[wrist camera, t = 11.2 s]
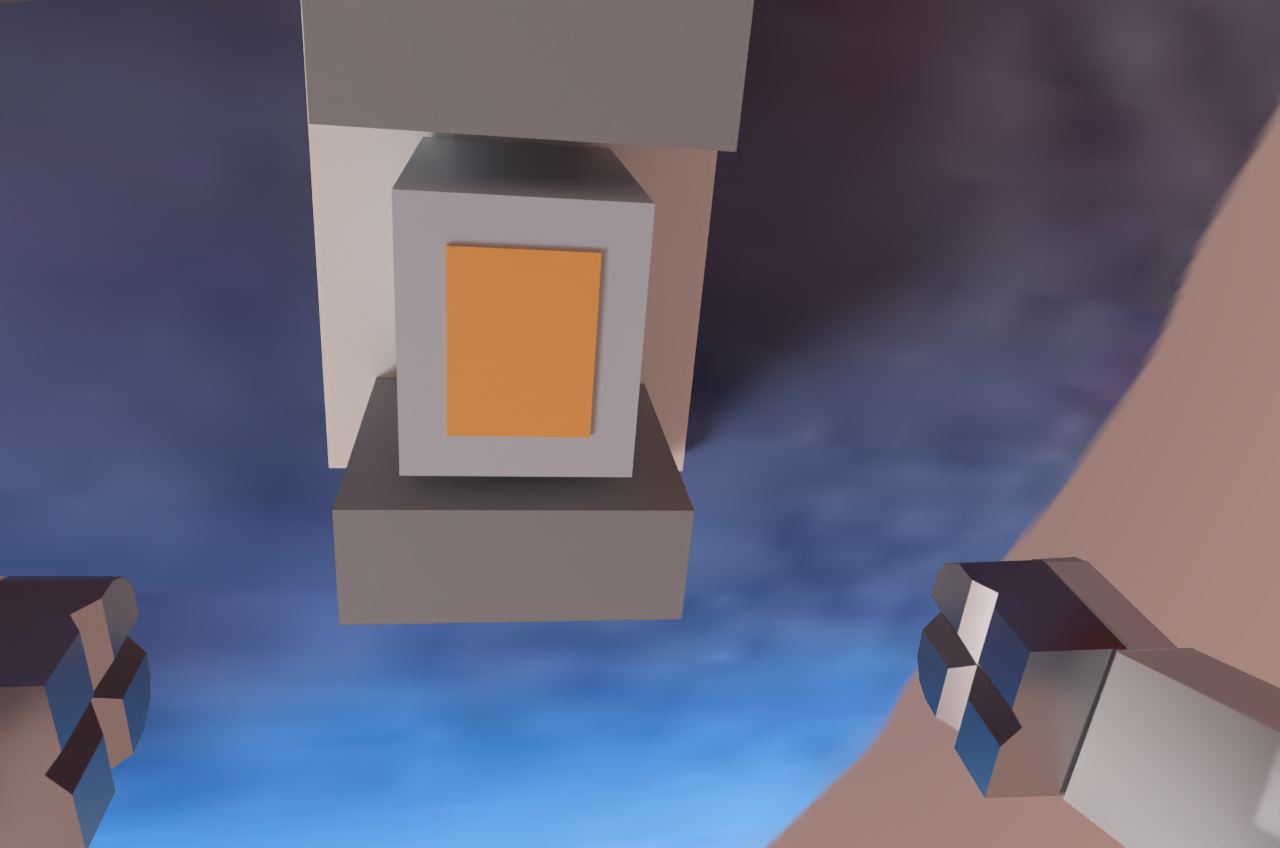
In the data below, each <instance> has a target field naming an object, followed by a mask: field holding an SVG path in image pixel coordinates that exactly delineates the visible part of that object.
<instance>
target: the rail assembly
mask: <svg viewBox="0 0 1280 848" xmlns="http://www.w3.org/2000/svg"><path fill="white" fill-rule="evenodd" d="M753 6H754V0H301V15H302V32H303V48H304V65H305V81H306V98H307V114H308V131H309V147H310V164H311V180H312V197H313V213H314V230H315V246H316V263H317V279H318V296H319V312H320V329H321V345H322V362H323V378H324V395H325V411H326V428H327V445H328V461H329V468H346V470H345V473H344V476H343V479H342V482H341V486H340V489H339V492H338V495H337V498H336V501H335V504H334V507H333V510H332V512H333V529H334V545H335V562H336V579H337V595H338V612H339V625H364V624H421V623H479V622H537V621H595V620H653V619H682V610H683V602H684V593H685V585H686V576H687V568H688V559H689V551H690V542H691V534H692V525H693V517H694V509H693V506H692V504H691V501H690V499H689V496H688V494H687V491H686V488H685V486H684V483H683V481H682V478H681V476H680V473H679V471H683V462H684V453H685V444H686V435H687V425H688V416H689V407H690V398H691V389H692V380H693V371H694V361H695V352H696V343H697V334H698V325H699V316H700V307H701V298H702V288H703V279H704V270H705V261H706V252H707V243H708V234H709V225H710V215H711V206H712V197H713V188H714V179H715V170H716V161H717V151H730V152H736V150H737V142H738V133H739V125H740V116H741V108H742V99H743V91H744V82H745V74H746V65H747V57H748V48H749V40H750V31H751V23H752V14H753ZM423 136H424V137H440V138H455V139H471V140H486V141H502V142H518V143H533V144H549V145H564V146H580V147H595V148H610V149H611V150H612V151H613V153H614V154H615V155H616V156H617V157H618V159H619V160H620V161H621V162H622V164H623V165H624V166H625V167H626V169H627V170H628V171H629V172H630V173H631V175H632V176H633V177H634V178H635V180H636V181H637V182H638V183H639V184H640V186H641V187H642V188H643V189H644V191H645V192H646V193H647V194H648V196H649V197H650V198H651V199H652V200H653V202H654V203H655V211H654V223H653V235H652V246H651V258H650V270H649V282H648V294H647V305H646V317H645V329H644V341H643V353H642V364H641V376H640V388H639V400H638V412H637V423H636V435H635V447H634V459H633V470H632V477H514V476H399V440H398V403H397V367H396V330H395V294H394V257H393V221H392V188H393V186H394V184H395V183H396V181H397V179H398V178H399V176H400V174H401V173H402V171H403V169H404V168H405V166H406V164H407V163H408V161H409V159H410V158H411V156H412V154H413V152H414V151H415V149H416V147H417V146H418V144H419V142H420V141H421V139H422V137H423Z"/></svg>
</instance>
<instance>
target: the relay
mask: <svg viewBox="0 0 1280 848" xmlns="http://www.w3.org/2000/svg"><path fill="white" fill-rule="evenodd" d="M27 1H36V0H0V4H7V3H17V2H27Z"/></svg>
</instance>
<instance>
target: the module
mask: <svg viewBox="0 0 1280 848" xmlns="http://www.w3.org/2000/svg"><path fill="white" fill-rule="evenodd" d="M654 211H655V203H654V202H653V200H652V199H651V198H650V197H649V196H648V194H647V193H646V192H645V191H644V189H643V188H642V187H641V186H640V184H639V183H638V182H637V181H636V180H635V178H634V177H633V176H632V175H631V173H630V172H629V171H628V170H627V169H626V167H625V166H624V165H623V164H622V162H621V161H620V160H619V159H618V157H617V156H616V155H615V154H614V153H613V151H612V150H611V149H610V148H595V147H580V146H564V145H549V144H533V143H518V142H502V141H486V140H471V139H455V138H440V137H424V136H423V137H422V139H421V141H420V142H419V144H418V146H417V147H416V149H415V151H414V152H413V154H412V156H411V158H410V159H409V161H408V163H407V164H406V166H405V168H404V169H403V171H402V173H401V174H400V176H399V178H398V179H397V181H396V183H395V184H394V186H393V188H392V221H393V257H394V294H395V330H396V367H397V403H398V440H399V476H514V477H632V470H633V459H634V447H635V435H636V423H637V412H638V400H639V388H640V376H641V364H642V353H643V341H644V329H645V317H646V305H647V294H648V282H649V270H650V258H651V246H652V235H653V223H654Z"/></svg>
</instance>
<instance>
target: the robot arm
mask: <svg viewBox="0 0 1280 848" xmlns="http://www.w3.org/2000/svg"><path fill="white" fill-rule="evenodd" d="M931 596H932V598H933V600H934V602H935V603H936V605H937V607H938V609H939V611H940V613H939V614H938V615H937V616H936V617H935V618H934V619H933V620H932V621H931V622H930V623H929V624H928V625H927V626H926V627H925V628H924V629H923V631H922V636H921V641H920V645H919V650H918V655H917V656H918V669H919V681H920V684H921V687H922V690H923V693H924V696H925V699H926V701H927V703H928V704H929V706H930V708H931V710H932V711H933V713H934V715H935V716H936V717H937V718H938V719H940V720H942V721H943V722H945V723H946V724H948V725H949V726H951V727H952V728H954V729H955V730H957V731H959V733H958V737H957V740H956V744H955V749H956V751H957V753H958V755H959V756H960V758H961V759H962V761H963V763H964V765H965V766H966V768H967V770H968V771H969V773H970V774H971V776H972V778H973V779H974V781H975V783H976V784H977V786H978V788H979V789H980V791H981V792H982V794H983V796H984V797H985V798H992V797H1025V796H1056V795H1064V798H1063V799H1064V800H1065V801H1066V802H1068V803H1069V804H1070V805H1071V806H1073V807H1074V808H1075V809H1077V810H1078V811H1079V812H1081V813H1082V814H1083V815H1085V816H1086V817H1087V818H1088V819H1089V820H1091V821H1092V822H1093V823H1095V824H1096V825H1097V826H1099V827H1100V828H1101V829H1102V830H1104V831H1105V832H1106V833H1108V834H1109V835H1110V836H1112V837H1113V838H1114V839H1115V840H1117V841H1118V842H1119V843H1121V844H1122V845H1123V846H1125V847H1126V848H1280V688H1278V687H1276V686H1274V685H1271V684H1269V683H1267V682H1265V681H1263V680H1261V679H1258V678H1256V677H1254V676H1252V675H1250V674H1248V673H1245V672H1243V671H1241V670H1239V669H1237V668H1234V667H1232V666H1230V665H1228V664H1225V663H1223V662H1221V661H1219V660H1217V659H1215V658H1213V657H1210V656H1208V655H1206V654H1204V653H1202V652H1199V651H1197V650H1195V649H1193V648H1177V647H1176V646H1175V645H1174V644H1173V643H1172V642H1171V641H1170V640H1169V639H1168V638H1167V637H1166V636H1165V635H1164V634H1163V633H1162V632H1161V631H1159V629H1158V628H1156V627H1155V626H1154V625H1153V624H1152V623H1151V622H1150V621H1149V620H1148V619H1147V618H1146V617H1145V616H1144V615H1143V614H1142V613H1141V612H1140V611H1139V610H1138V609H1137V608H1136V607H1135V606H1134V605H1133V604H1132V603H1131V602H1130V601H1128V600H1127V599H1126V598H1125V597H1124V596H1123V595H1122V594H1121V593H1120V592H1119V591H1118V590H1117V589H1116V588H1115V587H1114V586H1113V585H1112V584H1111V583H1110V582H1109V581H1108V580H1107V579H1106V578H1104V577H1103V576H1102V575H1101V574H1100V573H1099V572H1098V571H1097V570H1096V569H1095V568H1094V567H1093V566H1092V565H1091V564H1090V563H1089V562H1086V561H1084V560H1081V559H1079V558H1076V557H1068V558H1050V559H1032V560H1028V561H997V562H970V563H945V564H944V565H943V567H942V568H941V570H940V571H939V573H938V574H937V576H936V580H935V583H934V587H933V591H932V595H931ZM138 616H139V611H138V607H137V603H136V598H135V594H134V590H133V585H132V584H131V583H130V582H128V581H127V580H126V579H125V578H124V577H123V576H9V577H7V578H6V577H2V576H0V848H89V845H90V843H91V841H92V839H93V837H94V835H95V833H96V831H97V829H98V827H99V825H100V823H101V820H102V818H103V816H104V814H105V812H106V810H107V808H108V806H109V804H110V802H111V800H112V797H113V795H114V793H115V787H114V782H113V777H112V773H111V769H112V768H114V767H115V766H116V765H118V764H119V763H121V762H122V761H123V760H125V759H126V758H128V757H129V756H130V755H132V754H133V753H134V751H135V748H136V746H137V744H138V742H139V739H140V737H141V735H142V733H143V730H144V727H145V722H146V717H147V712H148V707H149V702H150V671H149V665H148V659H147V653H146V652H145V651H144V650H143V649H142V648H140V647H139V646H138V645H137V644H136V643H135V642H134V641H133V640H131V639H130V638H129V637H128V634H129V632H130V630H131V628H132V626H133V625H134V623H135V621H136V619H137V617H138Z"/></svg>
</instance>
